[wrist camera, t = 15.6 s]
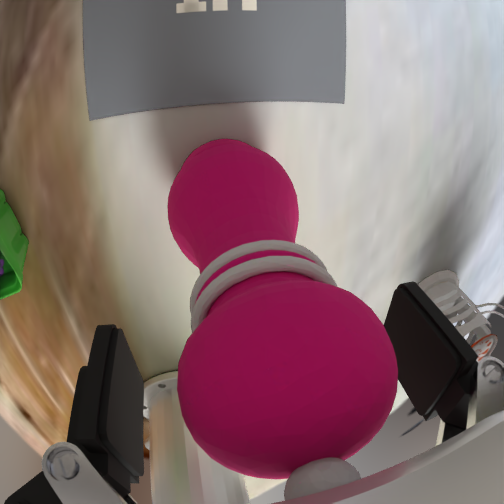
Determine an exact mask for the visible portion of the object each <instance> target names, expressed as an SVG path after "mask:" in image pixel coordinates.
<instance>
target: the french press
mask: <svg viewBox="0 0 504 504" xmlns="http://www.w3.org/2000/svg"><path fill="white" fill-rule="evenodd" d="M418 286H419V287H420V288H421V289H422V290H423V291H424V292H425V293H426V294H427V296H428V297H429V298H430V299H431V300H432V301H433V302H434V303H435V305H436V306H437V307H438V308H439V309H440V310H441V311H442V313H443V314H444V315H445V316H446V317H447V318H448V320H449V321H450V322H451V323H452V324H453V323H455V322H457V321H458V323H457V324H456V326H455V328H456V329H457V330H458V331H459V333H460V334H461V335H462V336H463V337H464V336H465V335H466V334H468V333H469V332H470V333H469V337H468V338H467V340H466V341H467V342H468V344H469V343H470V342H471V340H472V338H473V335H474V334H475V335H476V336H477V338H476V340H475V343H474V344H472V345H471V347H472V349H473V350H474V351H475V352H476V354H477V355H478V356H479V357H478V358H477V360H476V361H477V362H478V363H479V362H480V360H481V359H483V358H484V357H489V355H490V354H491V353H492V351H493V350H494V348H495V346H496V344H497V335H493V334H490V333H491V331H490V330H489V329H488V327H487V326H486V325H485V324H488V325H489V326H490V327H491V324H490V323H489V322H488V321H487V319H486V318H485V317H484V316H483V315H482V314H485V313H496V314H498V315H501V316H502V317H504V315H503V314H501V313H498V312H496V311H485V312H480V311H479V310H478V309H477V308H478V307H483V306H487V305H496V306H498V307H501V308H503V309H504V306H502V305H499V304H496V303H487V304H482V305H475V304H474V303H473V302H472V301H471V300H470V299H469V298H468V297H467V296H466V295H465V293H464V292H463V291H462V290H461V289H460V288H459V280H458V277H457V275H456V273H454V272H452V271H450V270H444V271H438V272H436V273H434V274H432V275H430V276H429V277H427V278H425V279H424V280H422V281H421V282H420V283H419V284H418ZM461 295H462V296H463V298H464V299H463V298H462V297H461ZM467 303H469V304H470V305H471V306H469V305H468V304H467ZM474 310H475V311H476V312H477V313H475V311H474ZM457 313H458V314H459V315H457ZM463 320H464V322H465V324H463V325H461V323H462V321H463Z"/></svg>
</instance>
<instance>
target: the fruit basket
mask: <svg viewBox="0 0 504 504" xmlns="http://www.w3.org/2000/svg"><path fill="white" fill-rule="evenodd" d="M5 200H6V199H5V195H4V192H3V191H2V190H1V189H0V299H3V298H6V297H8V296H11V295H13V294H16V293H18V292H20V290H21V289H22V281H23V274H22V272H23V267H24V262H25V257H26V253H27V248H28V244H29V242H28V239H27V237H26V236H25V235H24V234H23V233H21V232H22V231H21V227H20V225H19V223H18V221H17V219H16V217H15V215H14V213H13V211H12V209H11V207H10V206H9V205H8V203H7V202H5Z"/></svg>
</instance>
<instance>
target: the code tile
mask: <svg viewBox="0 0 504 504" xmlns="http://www.w3.org/2000/svg"><path fill="white" fill-rule="evenodd" d="M83 46H84V66H85V80H86V91H87V101H88V111H89V119H90V121H91V120H96V119H101V118H106V117H111V116H117V115H122V114H128V113H134V112H141V111H148V110H155V109H163V108H171V107H180V106H190V105H201V104H215V103H231V102H260V101H297V102H325V103H342V104H344V100H345V73H346V1H345V0H83Z"/></svg>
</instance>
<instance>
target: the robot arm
mask: <svg viewBox="0 0 504 504" xmlns="http://www.w3.org/2000/svg"><path fill="white" fill-rule="evenodd" d="M384 327H385V329H386V332H387V334H388V336H389V338H390V341H391V343H392V345H393V348H394V352H395V355H396V360H397V367H398V380H399V381H400V383H401V385H402V387H403V388H404V390H405V392H406V393H407V395H408V397H409V398H410V400H411V402H412V404H413V405H414V407H415V409H416V410H417V412H418V414H419V415H421V416H423V417H424V419H425V421H427V420H429V419H432V418H434V417H436V416H437V415H439V416H440V418H441V421H440V426H439V432H438V437H437V442H436V446H435V447H433V448H432V449H430V450H427V451H425V452H423V453H421V454H420V455H417V456H415V457H413V458H411V459H409V460H406V461H404V462H402V463H400V464H398V465H395V466H393V467H390V468H388V469H386V470H383V471H381V472H378V473H375V474H373V475H370V476H367V477H365V478H362V479H359V480H356V481H353V482H351V483H348V484H345V485H341V486H338V487H335V488H332V489H329V490H325V491H322V492H318V493H314V494H311V495H307V496H303V497H299V498H295V499H291V500H286V501H282V502H277V503H272V504H504V364H503V362H501V361H500V360H498V359H497V358H494V357H484V358H483V359H481V360H480V362H479V363H478V362H477V361H476V360H477V358H478V357H479V356H478V355H477V354H476V352H475V351H474V350H473V349H472V347H471V346H470V345H469V344H468V342H467V341H466V340H465V339H464V337H463V336H462V335H461V334H460V333H459V331H458V330H457V329H456V328H455V327H454V325H453V324H452V323H451V322H450V321H449V320H448V318H447V317H446V316H445V315H444V314H443V313H442V311H441V310H440V309H439V308H438V307H437V306H436V305H435V303H434V302H433V301H432V300H431V299H430V298H429V297H428V296H427V294H426V293H425V292H424V291H423V290H422V289H421V288H420V287H419V286H418V285H417V284H416V283H415V282H408V283H403V284H400V285H399V286H398V287H397V289H396V290H395V291H394V294H393V297H392V301H391V304H390V307H389V310H388V314H387V317H386V320H385V323H384ZM177 379H178V371H174V372H168V373H164V374H160V375H158V376H155V377H153V378H151V379H149V380H148V381H146V382H144V383H143V379H142V377H141V374H140V372H139V370H138V368H137V365H136V363H135V360H134V358H133V356H132V353H131V351H130V348H129V346H128V343H127V341H126V338H125V336H124V333H123V331H122V329H121V328H119V329H117V327H116V326H115V325H114V324H112V325H98V326H97V328H96V331H95V335H94V339H93V343H92V348H91V352H90V357H89V361H88V366H83V367H82V368H81V369H80V371H79V375H78V380H77V384H76V389H75V395H74V400H73V405H72V411H71V417H70V423H69V430H68V437H67V442H59V443H56V444H54V445H52V446H50V447H49V448H48V449H47V450H46V452H45V454H44V455H43V459H42V470H43V471H42V472H40V473H39V474H38V475H37V476H35V477H34V478H33V479H31V480H30V481H29V482H28V483H26V484H25V485H24V486H22V487H21V488H20V489H19V490H17V491H16V492H15V493H13V494H12V495H11V496H10V497H8V499H7V500H6V501H5V503H4V504H138V503H137V502H136V501H135V500H134V499H133V498H132V497H131V496H130V495H129V493H130V491H131V490H130V483H139V476H143V474H144V461H143V416H144V417H146V418H147V419H148V420H149V437H148V438H147V439H146V440H145V441H144V444H145V446H146V448H147V449H149V450H150V472H151V491H152V504H250V501H249V496H248V491H247V487H246V482H245V477H244V475H243V474H240V473H238V472H235V471H233V470H230V469H228V468H226V467H224V466H223V465H221V464H219V463H218V462H216V461H214V460H213V459H211V458H210V457H209V456H208V455H207V454H206V453H205V452H204V450H203V449H202V448H201V447H200V446H199V445H198V444H197V443H196V442H195V441H194V439H193V437H192V435H191V433H190V432H189V430H188V428H187V426H186V424H185V422H184V419H183V417H182V413H181V408H180V403H179V398H178V392H177Z"/></svg>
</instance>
